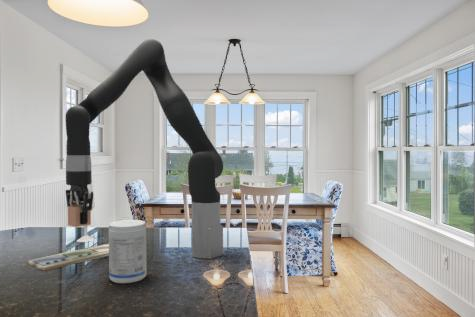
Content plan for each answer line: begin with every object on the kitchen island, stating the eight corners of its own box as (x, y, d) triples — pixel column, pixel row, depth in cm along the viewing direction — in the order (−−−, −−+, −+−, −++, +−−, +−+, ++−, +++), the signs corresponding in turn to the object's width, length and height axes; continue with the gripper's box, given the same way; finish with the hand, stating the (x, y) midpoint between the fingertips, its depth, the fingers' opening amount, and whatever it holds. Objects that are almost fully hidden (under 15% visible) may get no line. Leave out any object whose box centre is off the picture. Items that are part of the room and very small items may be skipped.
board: (127, 251, 127) (127, 247, 127) (44, 270, 107) (43, 266, 107) (108, 245, 135) (108, 242, 135) (26, 263, 115) (26, 258, 115)
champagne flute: (97, 238, 148) (97, 176, 148) (90, 242, 141) (90, 177, 141) (80, 238, 148) (79, 176, 148) (73, 242, 141) (72, 177, 141)
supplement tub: (113, 273, 104) (113, 219, 104) (149, 271, 105) (148, 219, 105) (105, 285, 95) (104, 226, 95) (143, 283, 96) (143, 225, 96)
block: (90, 224, 121) (90, 205, 121) (75, 227, 118) (75, 207, 117) (83, 222, 125) (82, 204, 125) (67, 225, 121) (67, 206, 121)
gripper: (101, 169, 119) (102, 223, 119) (79, 168, 128) (79, 218, 129) (78, 170, 113) (78, 227, 114) (56, 169, 123) (57, 222, 123)
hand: (79, 222), depth 121 cm, fingers closed on block, 5 cm apart
